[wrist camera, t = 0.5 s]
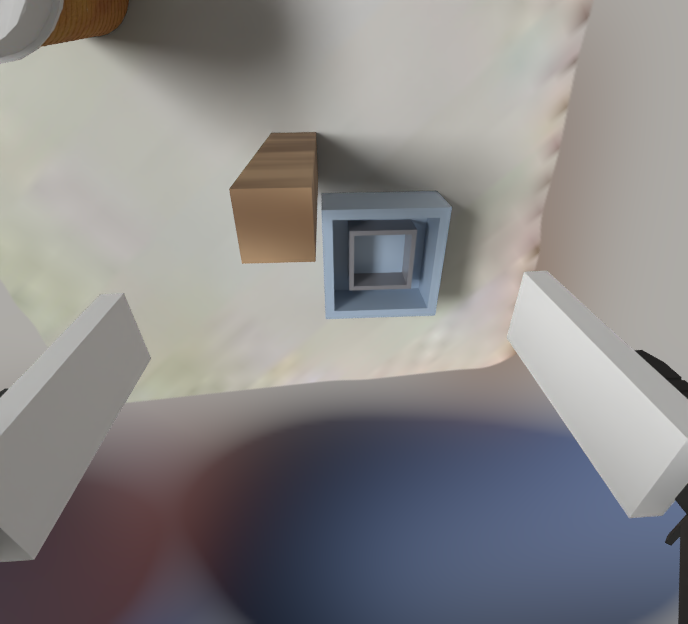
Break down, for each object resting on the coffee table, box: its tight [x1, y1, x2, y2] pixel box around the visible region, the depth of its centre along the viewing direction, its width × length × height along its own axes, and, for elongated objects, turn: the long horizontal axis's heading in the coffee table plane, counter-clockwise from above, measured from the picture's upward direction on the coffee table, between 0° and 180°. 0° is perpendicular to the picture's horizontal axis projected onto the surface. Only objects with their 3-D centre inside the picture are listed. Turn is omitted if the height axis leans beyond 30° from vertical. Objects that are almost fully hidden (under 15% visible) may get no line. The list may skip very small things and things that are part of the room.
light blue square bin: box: [322, 191, 452, 319], centre depth 33 cm, size 10×10×4 cm
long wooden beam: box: [229, 132, 318, 264], centre depth 24 cm, size 4×4×16 cm
